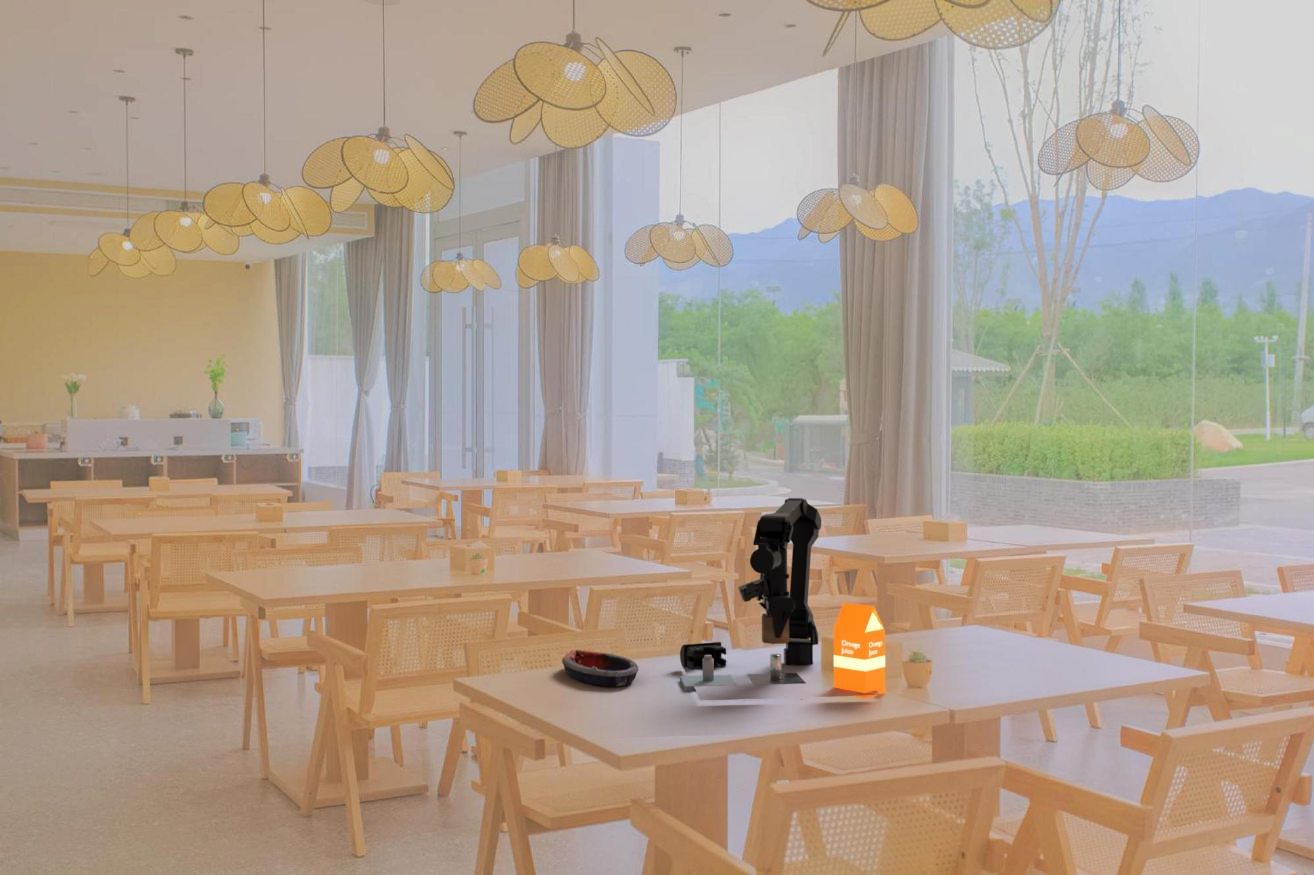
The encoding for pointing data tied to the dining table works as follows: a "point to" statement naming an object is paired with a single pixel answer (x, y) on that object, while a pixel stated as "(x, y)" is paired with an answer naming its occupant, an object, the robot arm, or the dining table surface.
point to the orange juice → (859, 650)
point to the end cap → (702, 654)
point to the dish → (600, 668)
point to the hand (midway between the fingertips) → (775, 635)
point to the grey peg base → (706, 677)
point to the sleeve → (769, 633)
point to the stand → (776, 674)
